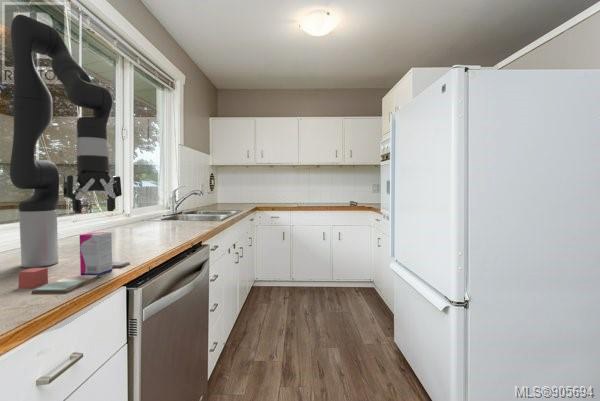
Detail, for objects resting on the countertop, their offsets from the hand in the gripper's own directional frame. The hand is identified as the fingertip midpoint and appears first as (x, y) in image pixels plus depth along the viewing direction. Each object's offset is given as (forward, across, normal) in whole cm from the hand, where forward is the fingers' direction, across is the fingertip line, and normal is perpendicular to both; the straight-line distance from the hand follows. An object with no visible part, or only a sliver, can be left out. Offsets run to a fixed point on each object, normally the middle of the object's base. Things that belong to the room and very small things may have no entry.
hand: (94, 212), depth 91 cm
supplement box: (+18, 0, 0) cm, 18 cm away
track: (+17, +3, +2) cm, 18 cm away
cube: (+16, +13, 0) cm, 20 cm away
